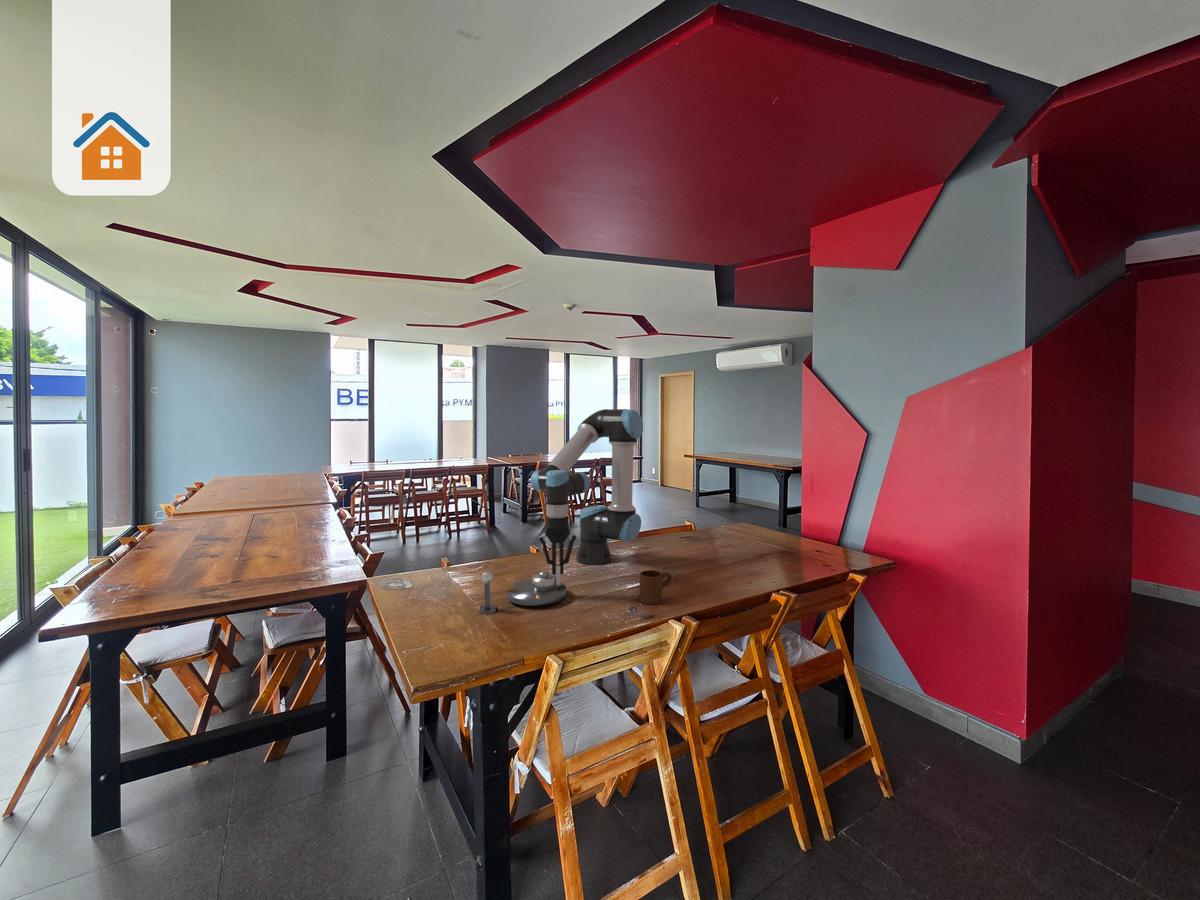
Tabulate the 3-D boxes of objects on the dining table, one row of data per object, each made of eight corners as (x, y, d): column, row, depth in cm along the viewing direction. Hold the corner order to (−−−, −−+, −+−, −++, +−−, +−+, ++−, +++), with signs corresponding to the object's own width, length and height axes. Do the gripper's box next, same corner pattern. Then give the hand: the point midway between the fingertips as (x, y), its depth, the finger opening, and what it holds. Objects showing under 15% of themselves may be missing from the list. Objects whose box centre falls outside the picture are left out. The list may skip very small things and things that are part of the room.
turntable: (507, 585, 176) (506, 569, 176) (563, 582, 179) (563, 566, 179) (505, 607, 156) (505, 589, 156) (568, 603, 160) (568, 585, 159)
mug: (665, 593, 173) (665, 567, 172) (677, 600, 166) (677, 573, 165) (635, 598, 168) (635, 571, 167) (646, 606, 161) (646, 578, 160)
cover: (532, 584, 172) (532, 569, 171) (555, 583, 173) (555, 568, 172) (532, 592, 164) (532, 576, 163) (556, 591, 165) (556, 575, 164)
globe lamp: (480, 607, 159) (479, 569, 158) (495, 606, 160) (495, 568, 159) (479, 614, 155) (478, 574, 154) (495, 613, 155) (494, 573, 154)
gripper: (538, 518, 162) (539, 588, 164) (577, 517, 164) (577, 586, 166) (537, 514, 169) (538, 580, 171) (575, 512, 172) (575, 578, 174)
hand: (557, 583), depth 169 cm, fingers closed
